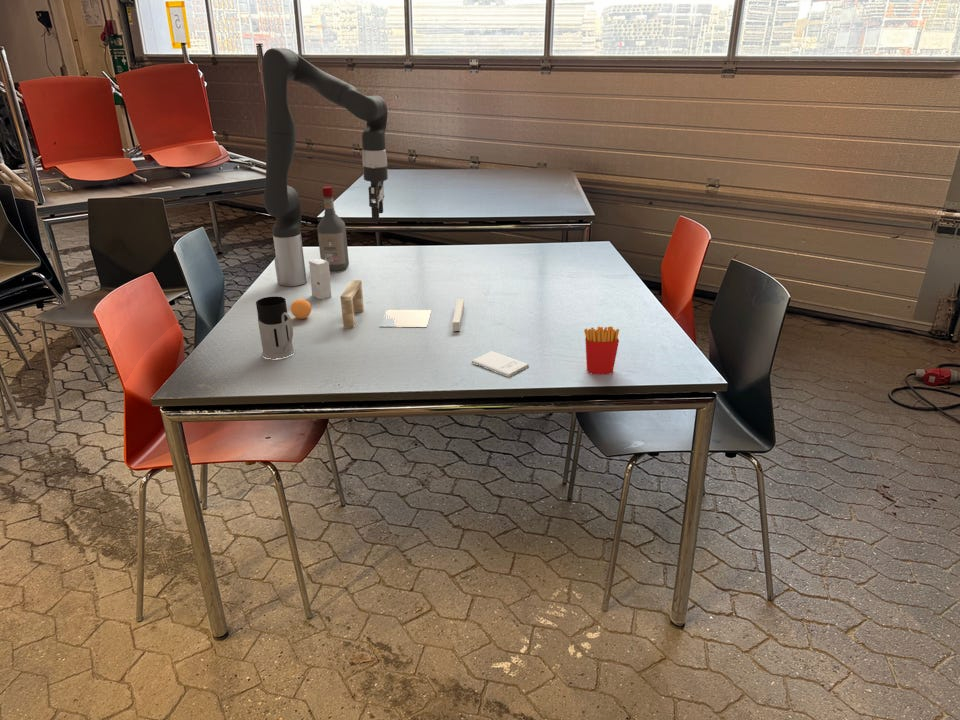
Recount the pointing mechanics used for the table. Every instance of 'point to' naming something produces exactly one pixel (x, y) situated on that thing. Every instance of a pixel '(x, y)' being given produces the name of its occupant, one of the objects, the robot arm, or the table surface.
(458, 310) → the wall
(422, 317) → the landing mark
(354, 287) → the bridge
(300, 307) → the ball
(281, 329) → the glass holder
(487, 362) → the external hard drive
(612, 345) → the french fries
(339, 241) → the liquor
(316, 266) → the skincare box
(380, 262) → the table surface
